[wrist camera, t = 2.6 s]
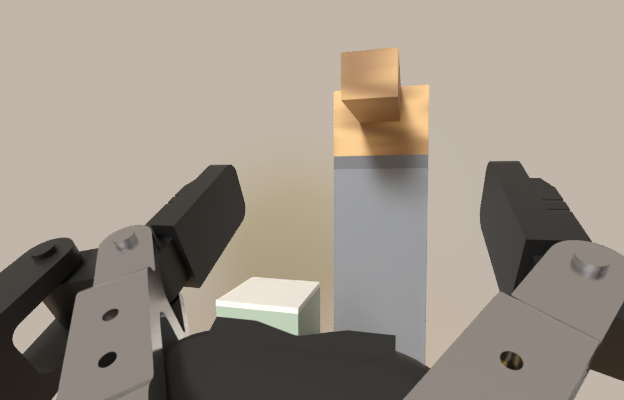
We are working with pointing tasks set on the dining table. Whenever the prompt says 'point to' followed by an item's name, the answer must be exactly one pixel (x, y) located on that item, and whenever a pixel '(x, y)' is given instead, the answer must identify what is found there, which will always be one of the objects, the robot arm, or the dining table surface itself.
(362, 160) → the stand
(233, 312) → the pedestal
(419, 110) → the handle block
